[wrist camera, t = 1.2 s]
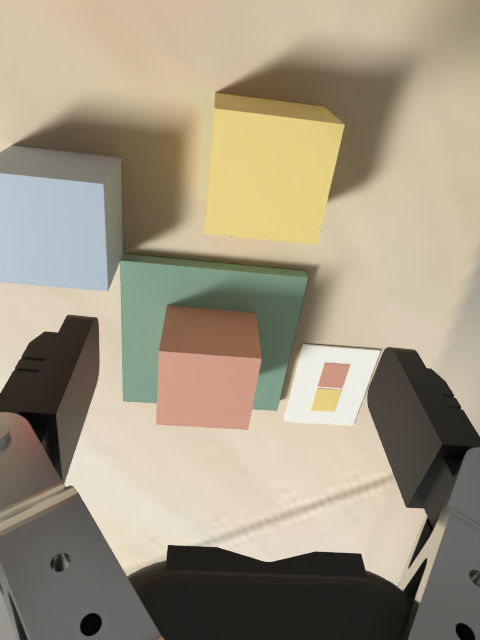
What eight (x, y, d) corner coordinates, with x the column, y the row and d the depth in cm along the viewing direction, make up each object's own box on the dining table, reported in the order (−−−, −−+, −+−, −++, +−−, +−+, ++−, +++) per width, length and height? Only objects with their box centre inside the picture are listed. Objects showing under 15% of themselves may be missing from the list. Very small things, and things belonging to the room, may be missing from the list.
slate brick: (12, 144, 26) (-28, 170, 22) (121, 156, 26) (103, 184, 22) (26, 243, 29) (-6, 281, 25) (123, 252, 30) (108, 291, 25)
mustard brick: (215, 92, 25) (214, 108, 20) (323, 106, 25) (345, 124, 21) (206, 200, 28) (204, 233, 24) (302, 210, 28) (317, 244, 24)
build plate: (122, 253, 29) (120, 260, 29) (305, 270, 31) (307, 278, 30) (125, 392, 36) (123, 401, 35) (275, 401, 37) (277, 410, 36)
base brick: (166, 305, 31) (158, 351, 26) (255, 312, 31) (261, 358, 27) (163, 374, 34) (156, 424, 30) (244, 379, 34) (248, 429, 30)
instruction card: (302, 343, 34) (302, 345, 34) (380, 349, 35) (380, 351, 34) (283, 420, 38) (283, 421, 38) (352, 424, 39) (353, 426, 39)
